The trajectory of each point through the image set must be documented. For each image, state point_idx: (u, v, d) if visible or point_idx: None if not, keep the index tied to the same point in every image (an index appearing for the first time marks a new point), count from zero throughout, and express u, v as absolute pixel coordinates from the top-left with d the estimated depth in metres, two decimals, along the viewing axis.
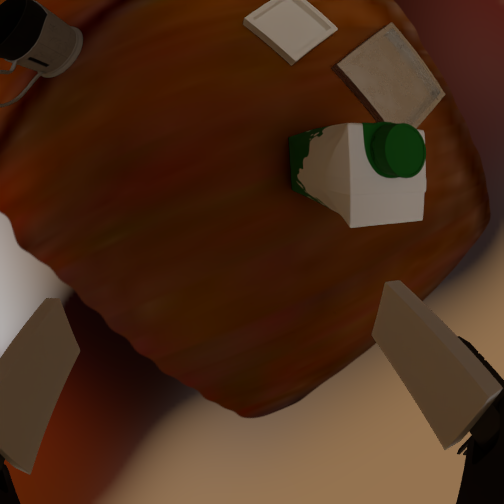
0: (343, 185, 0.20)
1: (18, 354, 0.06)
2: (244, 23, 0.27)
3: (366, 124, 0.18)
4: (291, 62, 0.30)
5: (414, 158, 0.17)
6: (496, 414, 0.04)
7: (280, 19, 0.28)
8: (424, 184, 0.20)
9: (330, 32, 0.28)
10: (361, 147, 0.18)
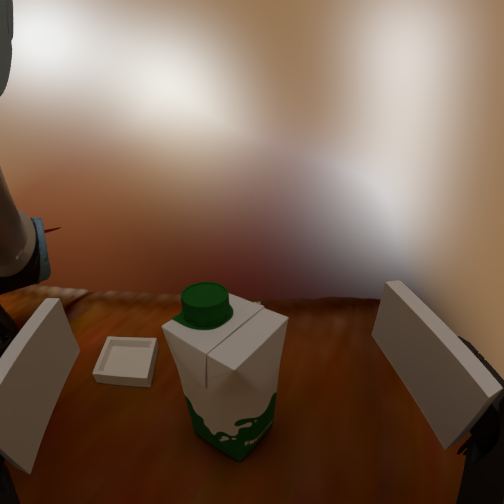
0: (199, 358, 0.20)
1: (18, 354, 0.06)
2: (96, 380, 0.34)
3: None
4: (146, 383, 0.35)
5: (216, 292, 0.23)
6: (496, 414, 0.04)
7: (118, 362, 0.39)
8: (256, 304, 0.25)
9: (153, 344, 0.41)
10: (183, 328, 0.22)
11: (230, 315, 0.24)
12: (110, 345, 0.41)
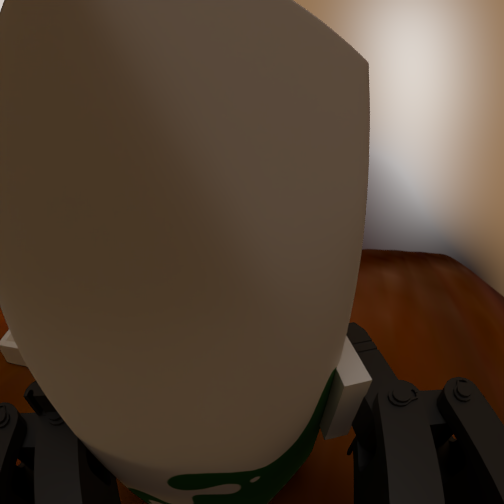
0: None
1: None
2: (5, 357, 0.16)
3: None
4: None
5: None
6: (370, 418, 0.05)
7: None
8: None
9: None
10: None
11: None
12: None
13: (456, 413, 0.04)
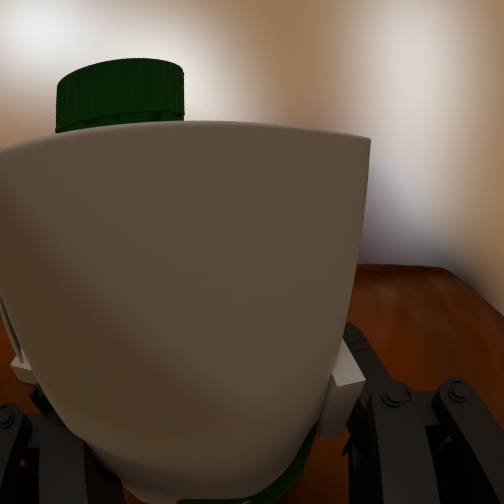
0: None
1: None
2: (18, 376, 0.17)
3: None
4: None
5: None
6: (364, 418, 0.05)
7: None
8: None
9: None
10: None
11: None
12: None
13: (451, 414, 0.04)
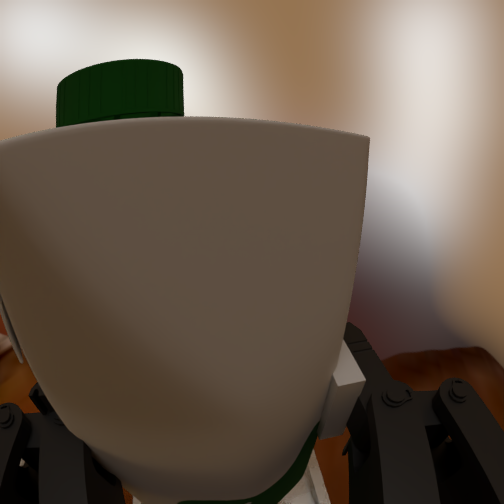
0: None
1: None
2: None
3: None
4: None
5: None
6: (364, 418, 0.05)
7: None
8: None
9: None
10: None
11: None
12: None
13: (452, 414, 0.04)
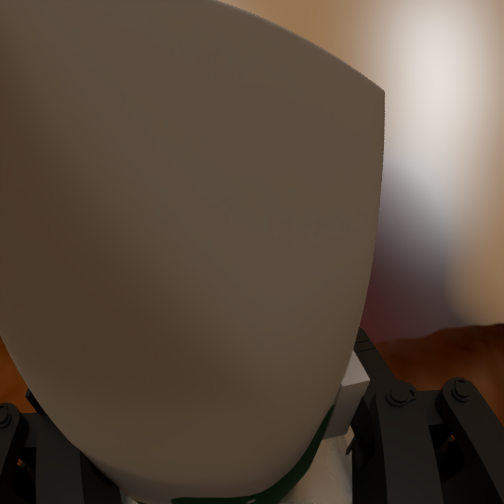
0: None
1: None
2: None
3: None
4: None
5: None
6: (368, 418, 0.05)
7: None
8: None
9: None
10: None
11: None
12: None
13: (455, 413, 0.04)
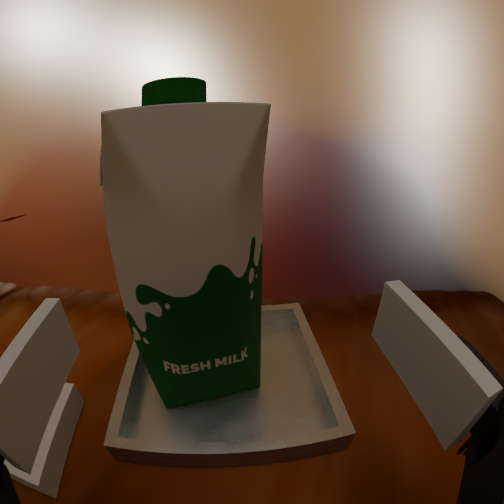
0: None
1: (18, 354, 0.06)
2: None
3: None
4: (45, 492, 0.08)
5: None
6: (496, 414, 0.04)
7: None
8: None
9: (64, 398, 0.14)
10: None
11: None
12: None
13: None
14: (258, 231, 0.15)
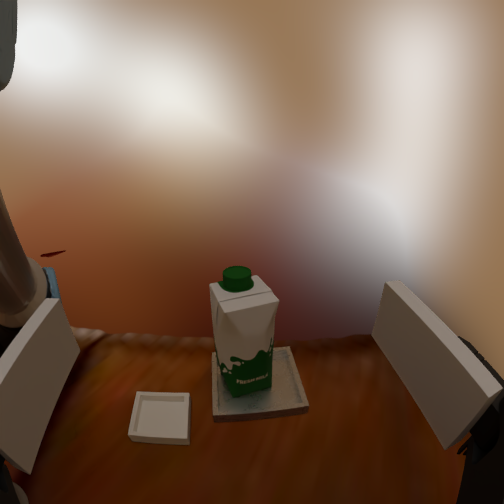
0: (216, 304, 0.37)
1: (18, 354, 0.06)
2: (132, 439, 0.32)
3: (219, 281, 0.41)
4: (186, 442, 0.33)
5: (243, 273, 0.39)
6: (496, 414, 0.04)
7: (151, 419, 0.36)
8: (268, 288, 0.39)
9: (187, 399, 0.39)
10: (218, 287, 0.39)
11: (249, 289, 0.39)
12: (141, 401, 0.39)
13: None
14: (273, 334, 0.40)
